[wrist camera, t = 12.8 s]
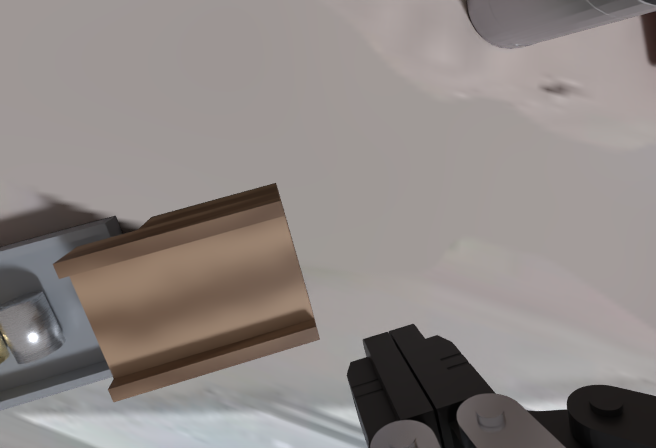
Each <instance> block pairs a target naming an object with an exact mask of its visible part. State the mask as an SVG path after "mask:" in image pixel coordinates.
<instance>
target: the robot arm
mask: <svg viewBox="0 0 656 448" xmlns="http://www.w3.org/2000/svg"><path fill="white" fill-rule="evenodd" d="M467 5H468V12H469V15H470V18H471V21H472V23H473V25H474V27H475V28H476V30H477V32H478V33H479V34H480V35H481V36H482V37H483V38H484V39H485V40H486V41H488V42H489V43H491V44H493V45H495V46H498V47H501V48H510V49H512V48H519V47H523V46H529V45H533V44H536V43H538V42H542V41H546V40H550V39H554V38H557V37H561V36H565V35H569V34H572V33H576V32H580V31H583V30H587V29H591V28H595V27H598V26H602V25H606V24H609V23H613V22H617V21H621V20H624V19H628V18H632V17H635V16H639V15H643V14H647V13H650V12H654V11H656V0H467ZM363 345H364V349H365V353H366V356H367V357H366V358H363V359H359V360H356V361H353V362H350V366H349V369H348V373H347V378H348V381H349V385H350V389H351V392H352V396H353V399H354V403H355V407H356V410H357V414H358V418H359V421H360V424H361V427H362V430H363V434H364V436H365V440H366V443H367V446H368V448H656V396H653V395H648V394H644V393H640V392H635V391H631V390H627V389H622V388H618V387H614V386H608V385H590V386H585V387H582V388H579V389H577V390H575V391H574V392H573V393H571V394H570V396H569V397H568V400H567V410H552V411H528V410H525V409H524V408H523V407H522V406H521V405H520V404H519V403H518V402H517V401H515V400H514V399H512V398H510V397H507V396H504V395H501V394H496V393H495V392H494V391H493V390H492V389H491V388H490V386H489V385H488V384H487V383H486V382H485V380H484V379H483V378H482V377H481V376H480V375H479V373H478V372H477V371H476V370H475V369H474V367H473V366H472V365H471V364H469V362H468V360H467V359H466V358H465V357H464V356H463V355H462V354H461V352H460V351H459V350H458V349H457V347H456V346H455V345H454V344H453V343H452V342H451V341H449V340H446V339H444V338H442V337H440V336H438V335H436V336H433V337H430V338H427V339H425V338H424V337H423V335H422V334H421V333H420V331H419V330H418V329H417V327H416V326H415V325H414V324H411V325H408V326H404V327H401V328H398V329H395V330H391V331H389V333H388V332H385V333H382V334H379V335H375V336H372V337H369V338H366V339H363Z"/></svg>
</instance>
